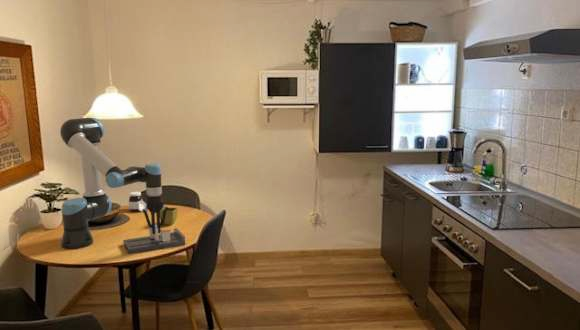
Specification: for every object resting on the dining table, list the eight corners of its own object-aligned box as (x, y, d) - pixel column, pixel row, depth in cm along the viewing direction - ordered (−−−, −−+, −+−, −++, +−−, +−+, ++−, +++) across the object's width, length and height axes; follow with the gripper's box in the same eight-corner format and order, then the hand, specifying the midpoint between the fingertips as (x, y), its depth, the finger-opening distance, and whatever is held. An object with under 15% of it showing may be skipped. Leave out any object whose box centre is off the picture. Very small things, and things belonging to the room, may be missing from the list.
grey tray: (129, 254, 227) (128, 245, 227) (123, 244, 241) (122, 236, 241) (185, 244, 241) (184, 236, 240) (176, 236, 255) (176, 228, 254)
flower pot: (178, 222, 281) (178, 207, 279) (173, 226, 272) (172, 211, 271) (164, 221, 282) (163, 207, 280) (159, 225, 273) (158, 211, 272)
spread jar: (133, 208, 313) (132, 191, 311) (149, 208, 313) (148, 191, 311) (126, 212, 301) (125, 195, 299) (144, 212, 301) (143, 195, 299)
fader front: (162, 242, 237) (161, 230, 236) (160, 239, 240) (159, 228, 239) (170, 240, 239) (170, 229, 238) (168, 238, 242) (168, 227, 241)
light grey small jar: (151, 238, 242) (150, 227, 241) (149, 236, 245) (148, 225, 244) (159, 237, 244) (158, 226, 243) (157, 235, 247) (156, 224, 246)
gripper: (142, 197, 227) (145, 243, 231) (169, 194, 233) (171, 239, 237) (139, 194, 233) (142, 239, 237) (165, 191, 239) (167, 235, 243)
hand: (156, 239), depth 237 cm, fingers closed
